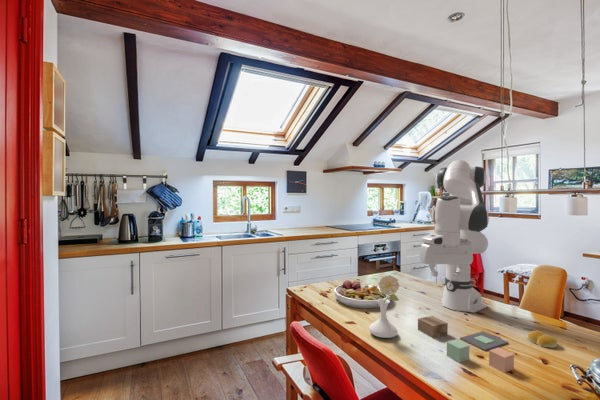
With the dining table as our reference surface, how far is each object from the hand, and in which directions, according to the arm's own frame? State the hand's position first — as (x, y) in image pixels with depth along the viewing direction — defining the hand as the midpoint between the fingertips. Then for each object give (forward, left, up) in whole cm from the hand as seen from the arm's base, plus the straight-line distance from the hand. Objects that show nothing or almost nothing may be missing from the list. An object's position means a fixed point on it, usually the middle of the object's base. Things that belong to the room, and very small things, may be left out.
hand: (445, 275), depth 114 cm
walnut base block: (-6, -11, -27) cm, 30 cm away
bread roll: (-38, +13, -27) cm, 48 cm away
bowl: (-3, -55, -27) cm, 61 cm away
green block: (+2, +7, -27) cm, 28 cm away
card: (-18, +3, -27) cm, 32 cm away
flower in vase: (+14, -17, -27) cm, 35 cm away
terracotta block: (-6, +17, -27) cm, 32 cm away
